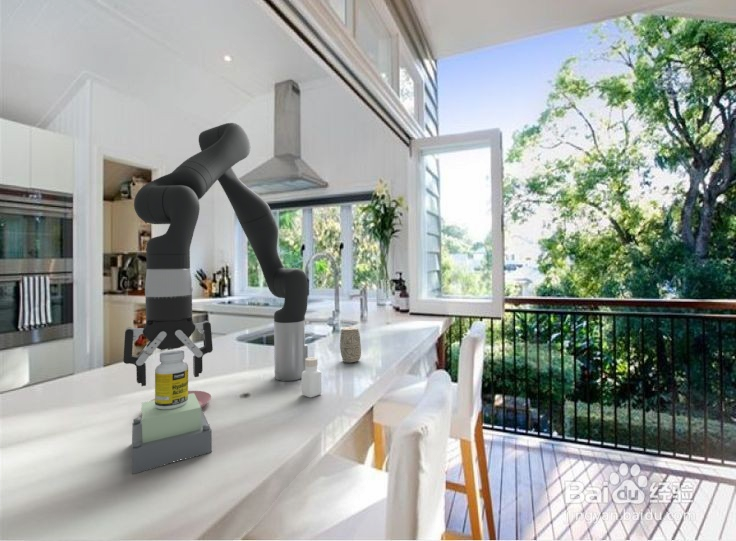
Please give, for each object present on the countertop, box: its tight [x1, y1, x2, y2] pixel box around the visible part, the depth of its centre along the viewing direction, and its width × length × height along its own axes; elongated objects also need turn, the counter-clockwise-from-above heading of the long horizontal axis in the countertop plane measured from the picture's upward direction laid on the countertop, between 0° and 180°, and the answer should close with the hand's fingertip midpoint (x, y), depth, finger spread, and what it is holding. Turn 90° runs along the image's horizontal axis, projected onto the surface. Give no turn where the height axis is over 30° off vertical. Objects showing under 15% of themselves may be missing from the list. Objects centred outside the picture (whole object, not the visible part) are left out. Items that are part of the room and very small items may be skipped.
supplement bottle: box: [154, 349, 189, 409], centre depth 65 cm, size 5×5×10 cm
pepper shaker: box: [301, 356, 323, 399], centre depth 92 cm, size 4×4×10 cm
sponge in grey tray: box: [131, 393, 213, 475], centre depth 65 cm, size 12×12×8 cm
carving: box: [339, 326, 362, 364], centre depth 124 cm, size 6×8×12 cm
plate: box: [150, 390, 212, 410], centre depth 83 cm, size 14×14×2 cm
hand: (170, 380), depth 65 cm, fingers open, 8 cm apart
